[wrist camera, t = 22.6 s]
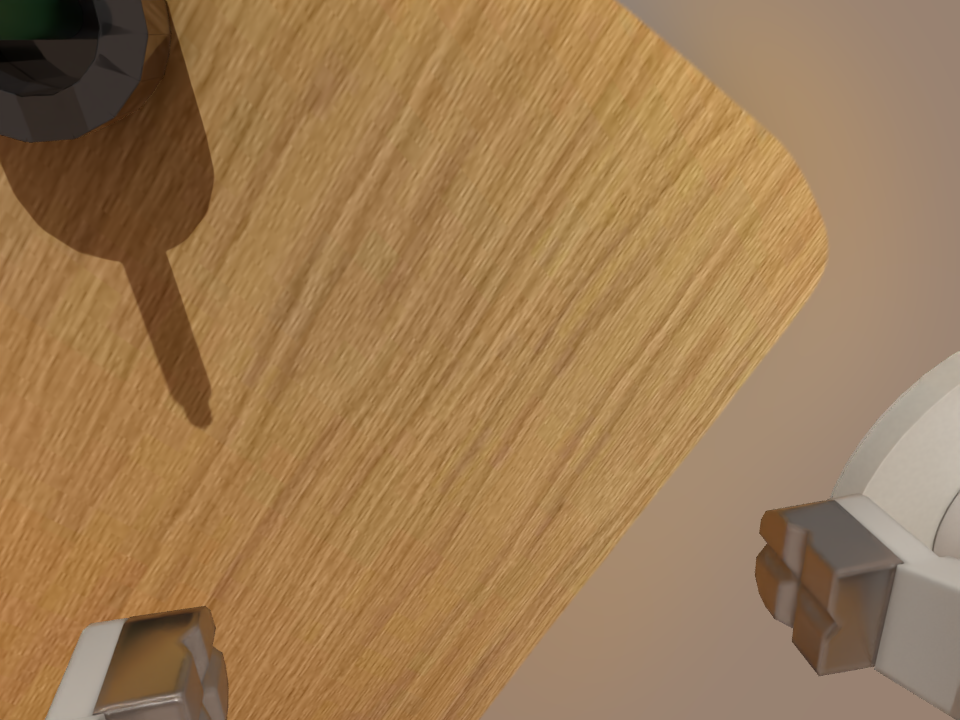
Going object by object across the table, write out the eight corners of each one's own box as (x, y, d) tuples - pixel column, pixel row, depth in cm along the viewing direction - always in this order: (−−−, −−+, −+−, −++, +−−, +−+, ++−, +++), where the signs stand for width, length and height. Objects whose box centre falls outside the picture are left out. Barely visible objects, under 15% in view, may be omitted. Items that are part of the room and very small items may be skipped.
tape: (143, -108, 28) (111, -132, 24) (190, 119, 32) (169, 132, 28) (-96, -101, 27) (-171, -125, 23) (-20, 135, 31) (-74, 150, 27)
